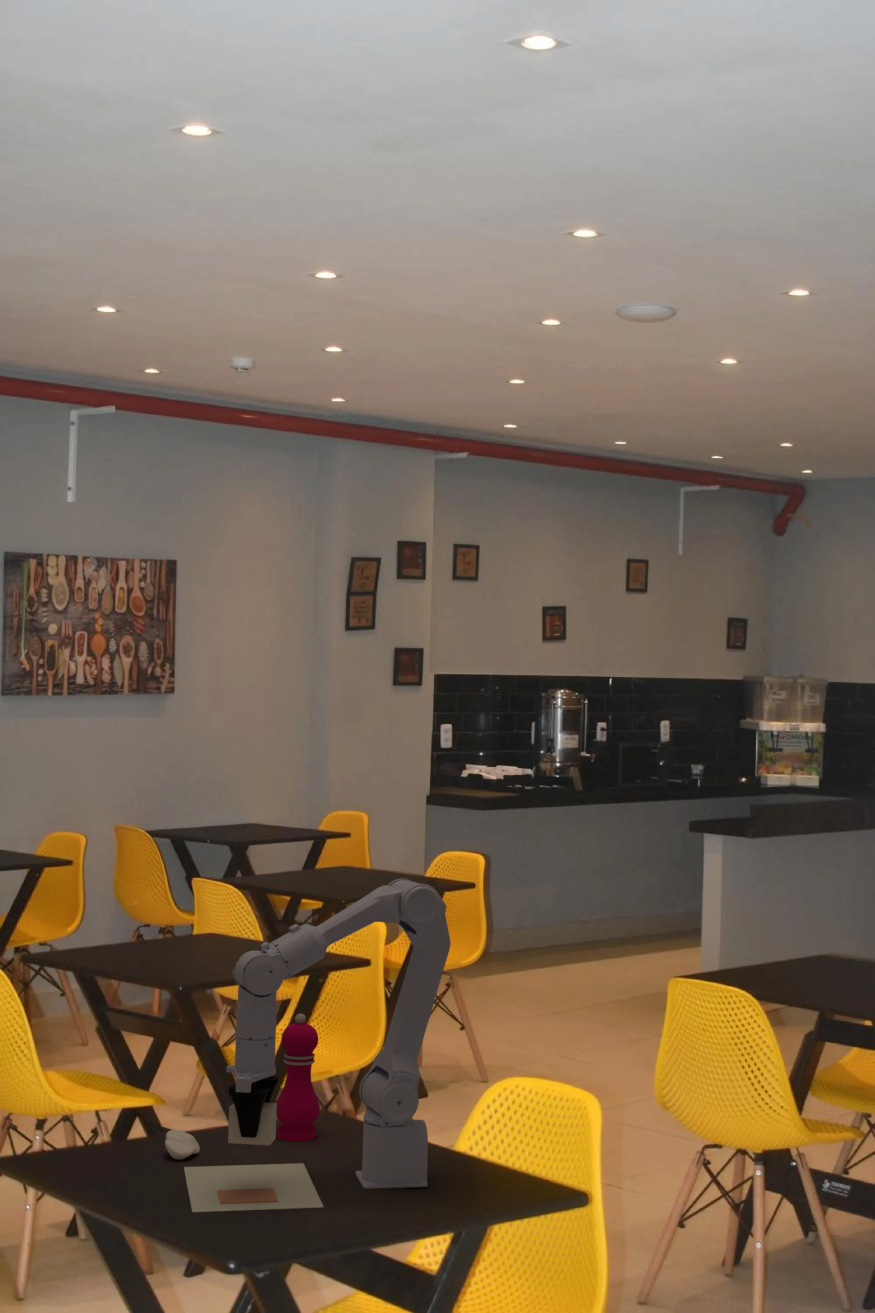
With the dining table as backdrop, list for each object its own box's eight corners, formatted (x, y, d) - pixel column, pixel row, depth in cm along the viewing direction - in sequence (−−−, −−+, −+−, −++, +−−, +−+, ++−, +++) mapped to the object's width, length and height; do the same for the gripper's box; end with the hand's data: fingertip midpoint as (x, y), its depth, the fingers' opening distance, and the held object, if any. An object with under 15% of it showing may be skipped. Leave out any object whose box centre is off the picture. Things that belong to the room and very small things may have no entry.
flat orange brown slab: (273, 1189, 221) (273, 1188, 221) (278, 1202, 215) (278, 1200, 215) (217, 1191, 219) (217, 1190, 219) (220, 1204, 213) (220, 1203, 213)
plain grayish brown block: (234, 1136, 223) (236, 1101, 223) (275, 1138, 222) (276, 1103, 222) (228, 1143, 219) (229, 1107, 219) (269, 1145, 218) (270, 1109, 218)
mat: (303, 1165, 235) (303, 1163, 235) (323, 1209, 213) (323, 1207, 213) (183, 1169, 231) (183, 1167, 231) (192, 1214, 210) (192, 1212, 210)
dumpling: (169, 1152, 241) (170, 1126, 241) (202, 1153, 240) (203, 1127, 241) (159, 1165, 234) (160, 1138, 234) (194, 1166, 233) (195, 1139, 234)
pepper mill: (274, 1132, 254) (278, 1009, 255) (318, 1132, 255) (322, 1010, 256) (274, 1144, 247) (278, 1017, 248) (319, 1144, 248) (323, 1018, 249)
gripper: (240, 1026, 229) (236, 1119, 228) (215, 1045, 215) (212, 1144, 214) (286, 1028, 228) (283, 1121, 227) (265, 1047, 214) (262, 1147, 213)
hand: (252, 1133), depth 221 cm, fingers closed on plain grayish brown block, 4 cm apart
